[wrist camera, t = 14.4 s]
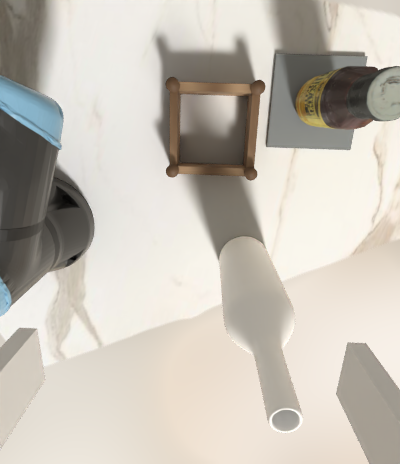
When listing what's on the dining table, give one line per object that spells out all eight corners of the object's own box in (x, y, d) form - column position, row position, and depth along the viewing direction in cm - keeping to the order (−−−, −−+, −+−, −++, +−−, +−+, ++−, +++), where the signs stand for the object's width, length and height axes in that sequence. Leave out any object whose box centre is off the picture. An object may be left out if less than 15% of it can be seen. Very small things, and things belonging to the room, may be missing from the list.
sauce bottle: (306, 69, 42) (387, 24, 23) (346, 90, 42) (456, 62, 24) (283, 117, 44) (339, 111, 25) (321, 136, 44) (404, 143, 26)
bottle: (218, 235, 50) (232, 377, 22) (269, 235, 50) (348, 378, 22) (218, 280, 53) (230, 458, 25) (266, 280, 53) (334, 460, 24)
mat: (266, 146, 46) (267, 147, 45) (275, 54, 42) (276, 53, 41) (348, 149, 45) (350, 150, 45) (365, 57, 42) (367, 56, 41)
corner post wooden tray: (171, 171, 47) (166, 177, 41) (171, 83, 43) (165, 76, 38) (250, 174, 47) (256, 180, 41) (258, 86, 43) (265, 80, 37)
